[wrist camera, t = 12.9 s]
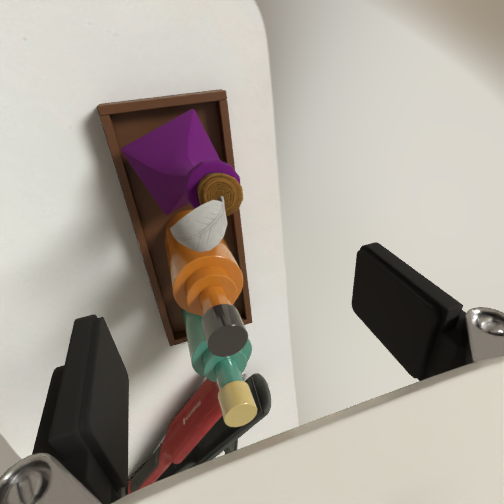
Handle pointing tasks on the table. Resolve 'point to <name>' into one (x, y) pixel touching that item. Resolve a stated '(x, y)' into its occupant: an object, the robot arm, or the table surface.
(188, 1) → the table surface
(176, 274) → the amber bottle
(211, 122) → the tray
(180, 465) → the hair straightener
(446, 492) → the robot arm
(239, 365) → the sea-green bottle
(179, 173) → the perfume bottle
